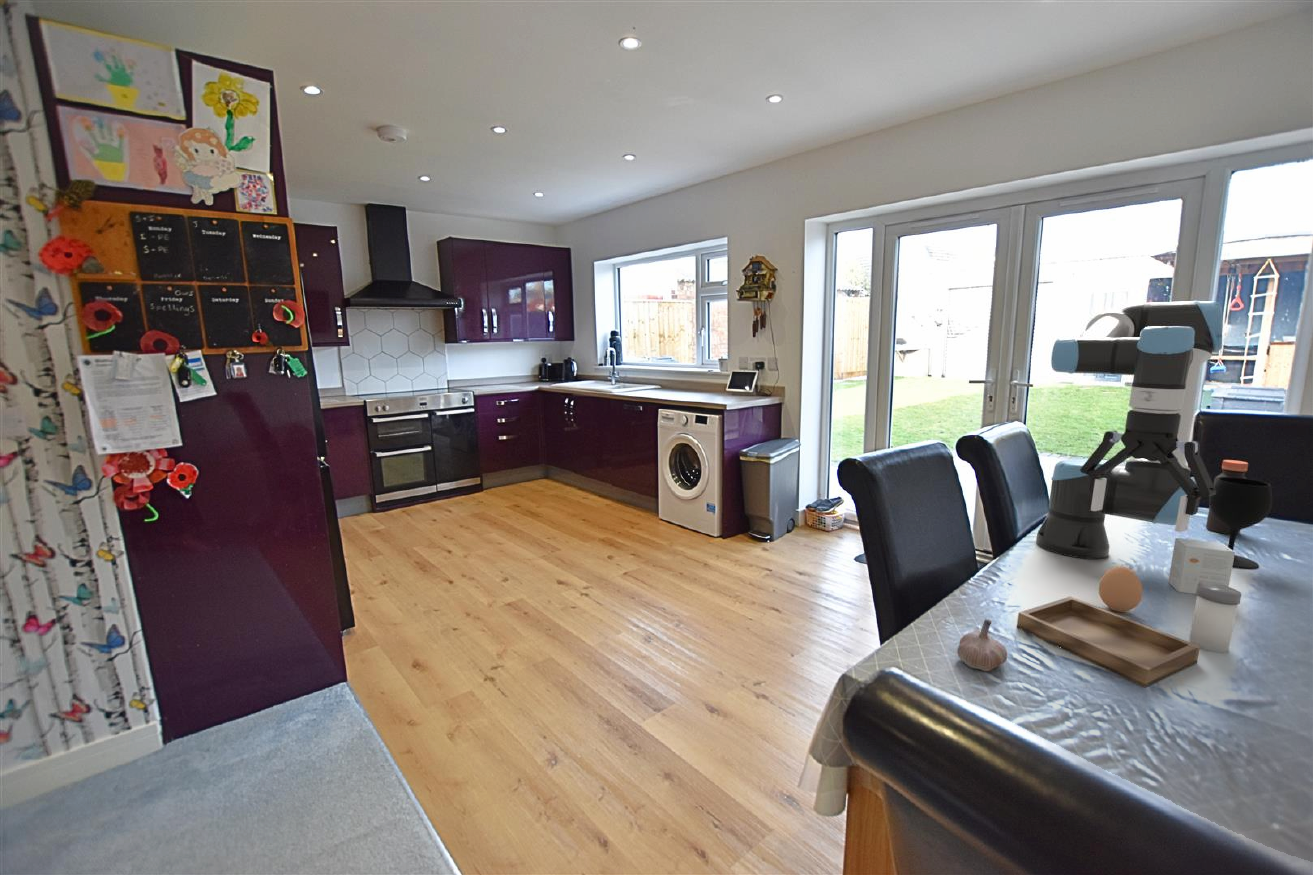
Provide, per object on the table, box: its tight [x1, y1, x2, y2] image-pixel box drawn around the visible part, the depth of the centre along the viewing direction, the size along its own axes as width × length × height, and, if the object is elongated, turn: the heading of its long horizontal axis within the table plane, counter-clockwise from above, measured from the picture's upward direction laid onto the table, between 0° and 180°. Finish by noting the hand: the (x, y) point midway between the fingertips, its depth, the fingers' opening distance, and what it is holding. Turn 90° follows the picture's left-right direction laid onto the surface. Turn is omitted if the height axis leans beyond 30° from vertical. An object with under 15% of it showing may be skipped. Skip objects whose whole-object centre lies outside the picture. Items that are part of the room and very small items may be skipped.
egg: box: [1098, 566, 1143, 613], centre depth 110 cm, size 7×7×9 cm
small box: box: [1168, 537, 1236, 595], centre depth 119 cm, size 8×6×10 cm
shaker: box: [1188, 582, 1243, 654], centre depth 98 cm, size 5×5×11 cm
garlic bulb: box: [956, 618, 1008, 672], centre depth 92 cm, size 8×7×8 cm
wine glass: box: [1208, 477, 1274, 570], centre depth 134 cm, size 10×10×20 cm
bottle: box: [1205, 459, 1249, 535], centre depth 155 cm, size 7×7×20 cm
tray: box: [1016, 596, 1201, 688], centre depth 99 cm, size 20×16×3 cm
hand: (1136, 519), depth 108 cm, fingers open, 13 cm apart
